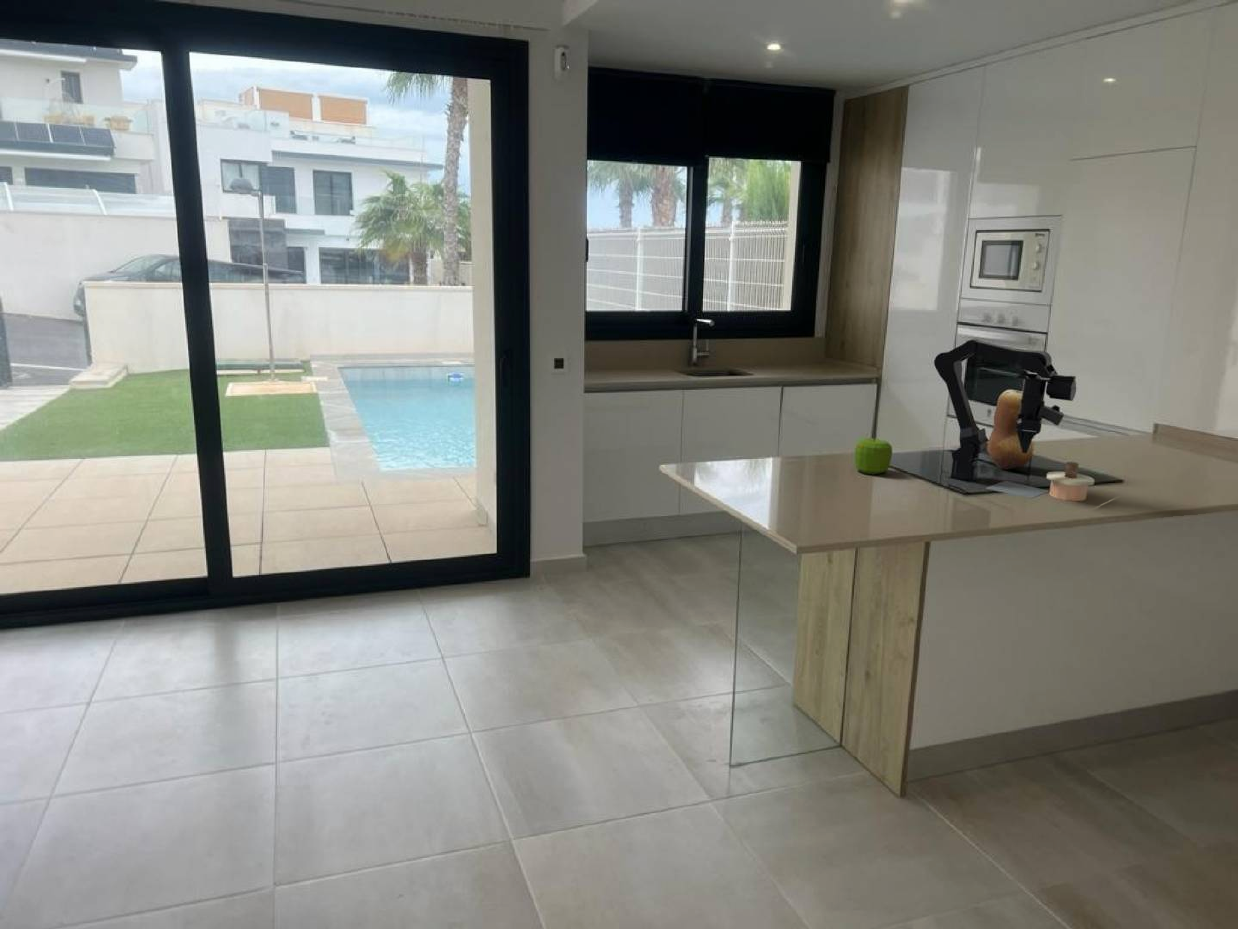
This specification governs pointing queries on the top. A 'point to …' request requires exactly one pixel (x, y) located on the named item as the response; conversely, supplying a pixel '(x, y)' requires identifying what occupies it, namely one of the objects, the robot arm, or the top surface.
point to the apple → (872, 455)
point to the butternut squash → (1007, 433)
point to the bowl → (1068, 491)
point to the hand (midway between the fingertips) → (1024, 449)
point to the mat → (1017, 489)
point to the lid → (1070, 476)
